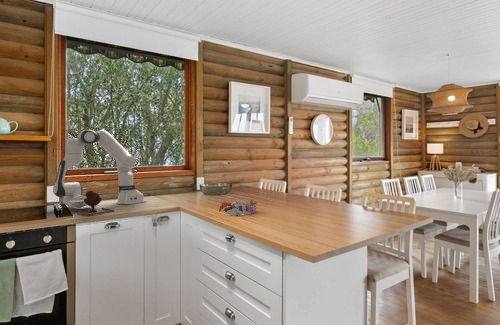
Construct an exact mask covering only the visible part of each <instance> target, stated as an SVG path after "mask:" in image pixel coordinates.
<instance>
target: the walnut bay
mask: <svg viewBox="0 0 500 325" xmlns="http://www.w3.org/2000/svg"><path fill="white" fill-rule="evenodd" d="M101 210H102V211H97V212H96V213H85V212H82V211H77V212H76V213H77V215H80V214H81V216H85V217H93V216H97V215H102V214H108V213H113V212H115V209H112V208H108V207H101Z"/></svg>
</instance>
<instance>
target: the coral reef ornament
mask: <svg viewBox="0 0 500 325" xmlns="http://www.w3.org/2000/svg"><path fill="white" fill-rule="evenodd" d="M257 203H258V202H257V201H254V199H253V198H250V200H249V202H248V201H246V200H243V199H238V200H237V201H233V202H232V203H231V202H227V201H226V200H225V201H222V202H221V205H220V206H219V209H218V213H219V212H220V211H225V212H226V213H225V214H230V215H242V214H250V215H252V214H251V213H253V214H256V213H257ZM255 212H256V213H255Z"/></svg>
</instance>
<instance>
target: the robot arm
mask: <svg viewBox="0 0 500 325" xmlns="http://www.w3.org/2000/svg"><path fill="white" fill-rule="evenodd" d="M95 143H97V144H98V145H100V146H101V147H102V149H104V151H105V152H106V153H107V154H108V155H109V156H110V157H112V158H113V159H114V160H115V163H116V169H117V175H118V176H117V177H118V185H117V192H118V197H117V200H116V204H119V205H132V204H140V203H146V202H147V199H146V198H145V197H144V194H143V193H142V192H140V190H137V188H138V185H135V184H134V174H133V169H132V168H133V167H134V166H135V165H136V158H135V157H134V156H133V155H132V154H131V153H130V152H129V151H128V150H126V149H125V147H123V145H121V144H120V143H119V142H118V140H116V138H115V137H114V136H113V135H111V134H110V133H109V132H108V131H106V130H105V129H99V130H97V131H95V130H93V129H84V130H81V131H80V132H79V133H78V135H77V136H76V137H71V138H69V139H68V140H67V142H66V146H65V155H64V157H63V160H61V161H60V162H59V165H58V168H57V173H56V178H55V181H54V184H53V187H52V194H54V196H56V197H58V198H62V202H63V204H64V205H66V206H67V207H68V208H78V209H80V208H84V207H86V206H88V205H87V204H86V203H85V202H84V199H85V198H87V197H86V195H83V193H84V190H83V188H84V187H83V185H82V184H81V183H80V182H79V181H70V182H69V181H68V182H65V178H66V173H67V171H68V170H70V168H73V167H76V166H78V165H80V163H81V162H82V161H83V159H84V147H85V146H86V145H93V144H95Z"/></svg>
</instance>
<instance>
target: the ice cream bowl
mask: <svg viewBox="0 0 500 325" xmlns="http://www.w3.org/2000/svg"><path fill="white" fill-rule="evenodd" d="M85 196H86V197H87V198H85V199H84V202H85V203H86V204H87V205H86V206H89V207H90V208H91V210H89V211H88V212H89V213H88V214H92V213H98V210H97V209H95V207H96V206H99V204H100V203H101V202H102V197H100V194H98V192H95V191H94V190H87V191H86V193H85Z"/></svg>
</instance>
